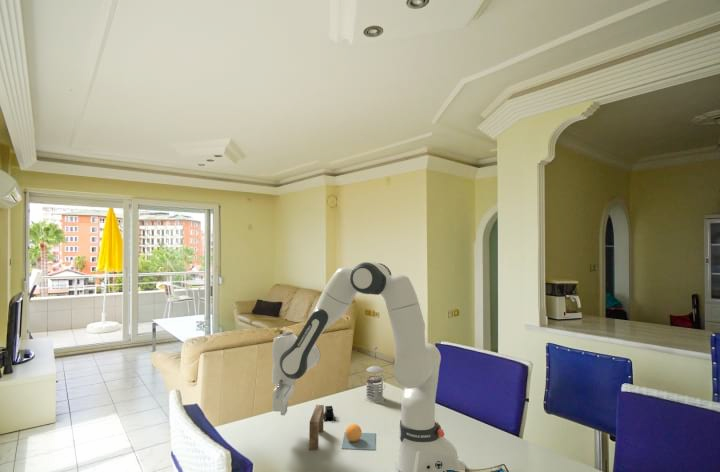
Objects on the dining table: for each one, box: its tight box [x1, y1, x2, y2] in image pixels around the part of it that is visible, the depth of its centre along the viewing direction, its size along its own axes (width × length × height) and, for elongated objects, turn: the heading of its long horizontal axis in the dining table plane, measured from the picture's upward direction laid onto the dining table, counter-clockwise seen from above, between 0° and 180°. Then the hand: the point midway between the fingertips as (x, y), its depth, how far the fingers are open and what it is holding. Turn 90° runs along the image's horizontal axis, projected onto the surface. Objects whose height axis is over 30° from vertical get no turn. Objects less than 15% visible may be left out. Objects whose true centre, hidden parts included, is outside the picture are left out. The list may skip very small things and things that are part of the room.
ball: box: [345, 423, 363, 442], centre depth 142 cm, size 6×6×6 cm
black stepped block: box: [324, 405, 337, 423], centre depth 162 cm, size 12×7×5 cm, turn 12°
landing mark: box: [341, 431, 376, 451], centre depth 142 cm, size 12×12×1 cm
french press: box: [363, 345, 386, 404], centre depth 182 cm, size 10×12×25 cm
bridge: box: [308, 404, 325, 451], centre depth 143 cm, size 3×15×10 cm, turn 178°
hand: (283, 413), depth 143 cm, fingers closed
